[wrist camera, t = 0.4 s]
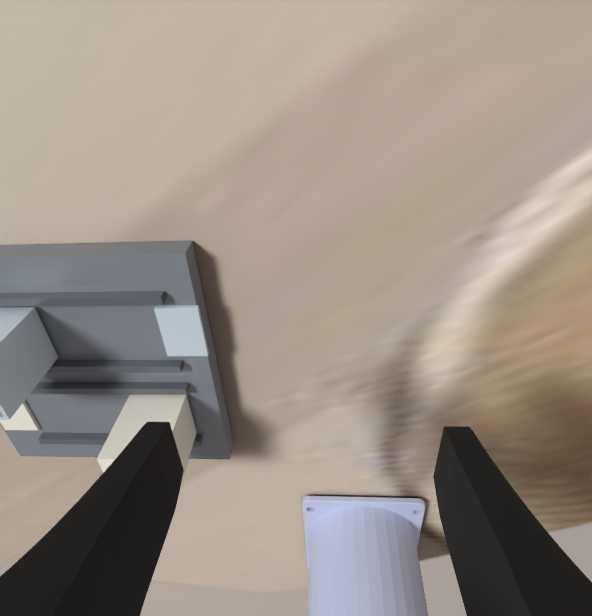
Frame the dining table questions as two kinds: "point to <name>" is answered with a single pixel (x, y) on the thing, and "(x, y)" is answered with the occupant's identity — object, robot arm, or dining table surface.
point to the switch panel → (113, 342)
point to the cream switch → (150, 410)
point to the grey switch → (21, 356)
